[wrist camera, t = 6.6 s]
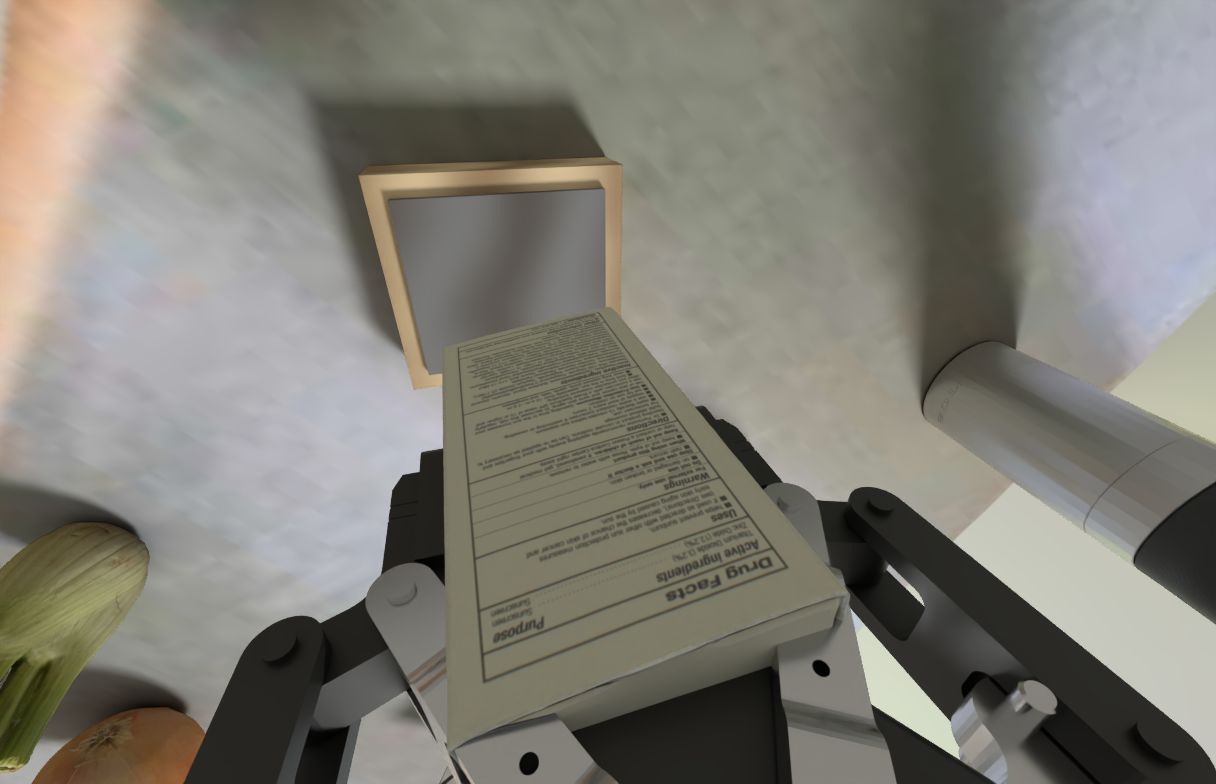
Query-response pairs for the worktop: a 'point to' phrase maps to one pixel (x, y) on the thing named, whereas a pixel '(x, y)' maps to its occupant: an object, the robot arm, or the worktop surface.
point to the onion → (128, 750)
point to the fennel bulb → (59, 621)
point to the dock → (493, 247)
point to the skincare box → (602, 535)
